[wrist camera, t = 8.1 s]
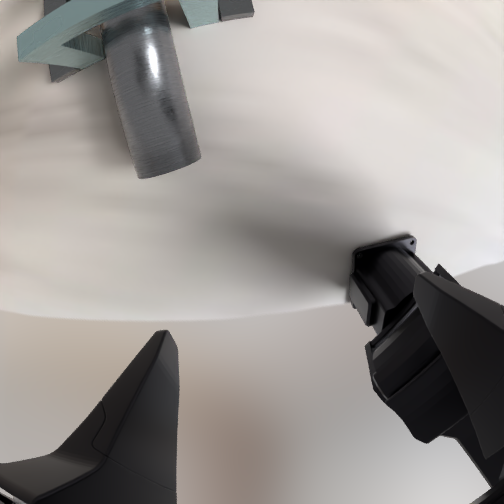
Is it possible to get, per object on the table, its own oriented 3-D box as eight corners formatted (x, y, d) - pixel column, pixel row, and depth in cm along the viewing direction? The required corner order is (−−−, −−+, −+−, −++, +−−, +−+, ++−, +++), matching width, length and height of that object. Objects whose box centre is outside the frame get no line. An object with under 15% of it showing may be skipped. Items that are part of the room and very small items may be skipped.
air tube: (101, -37, 8) (81, -59, 4) (158, -57, 8) (148, -85, 4) (144, 168, 17) (127, 186, 14) (204, 150, 17) (202, 163, 14)
